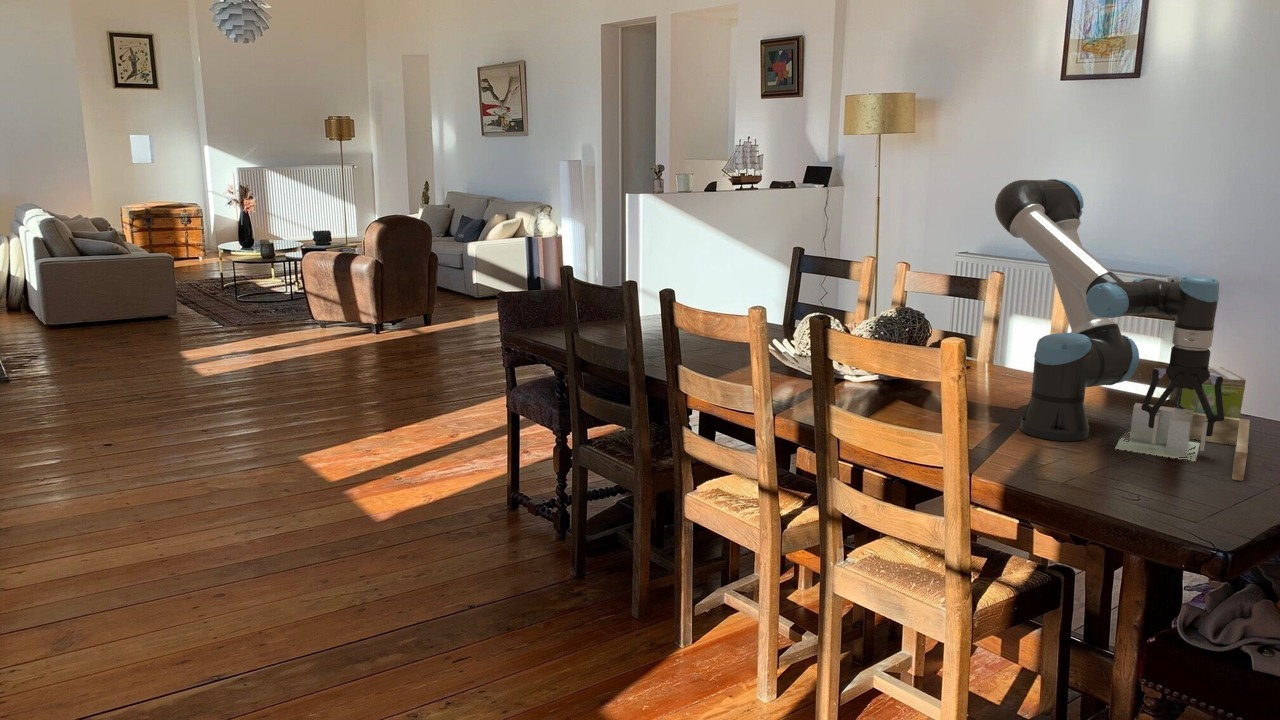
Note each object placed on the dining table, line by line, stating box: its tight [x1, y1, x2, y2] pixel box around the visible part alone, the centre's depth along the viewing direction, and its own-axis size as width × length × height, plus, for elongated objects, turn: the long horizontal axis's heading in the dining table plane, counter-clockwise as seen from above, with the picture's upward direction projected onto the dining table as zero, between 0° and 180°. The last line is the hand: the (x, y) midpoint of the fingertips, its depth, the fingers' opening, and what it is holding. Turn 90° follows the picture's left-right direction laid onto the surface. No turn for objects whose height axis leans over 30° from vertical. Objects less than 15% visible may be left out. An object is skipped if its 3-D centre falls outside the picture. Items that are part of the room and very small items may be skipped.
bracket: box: [1129, 402, 1194, 457], centre depth 221 cm, size 12×12×8 cm
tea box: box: [1173, 365, 1247, 419], centre depth 234 cm, size 15×10×15 cm, turn 168°
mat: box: [1114, 437, 1201, 463], centre depth 222 cm, size 16×16×1 cm
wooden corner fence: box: [1190, 412, 1251, 482], centre depth 216 cm, size 20×30×6 cm, turn 148°
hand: (1177, 445), depth 217 cm, fingers open, 9 cm apart
